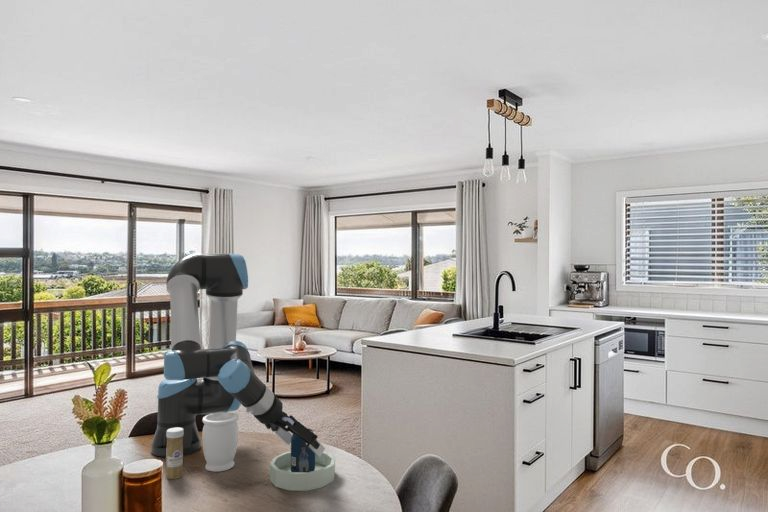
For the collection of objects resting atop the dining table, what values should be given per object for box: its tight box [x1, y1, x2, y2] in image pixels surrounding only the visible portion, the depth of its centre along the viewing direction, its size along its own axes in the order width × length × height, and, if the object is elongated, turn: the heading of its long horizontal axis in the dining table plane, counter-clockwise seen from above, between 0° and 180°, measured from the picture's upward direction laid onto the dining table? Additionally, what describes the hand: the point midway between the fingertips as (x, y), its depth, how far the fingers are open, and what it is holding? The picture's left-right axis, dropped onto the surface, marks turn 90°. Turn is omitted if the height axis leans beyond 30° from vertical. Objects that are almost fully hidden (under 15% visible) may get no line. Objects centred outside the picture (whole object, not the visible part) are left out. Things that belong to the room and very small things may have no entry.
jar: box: [201, 411, 239, 473], centre depth 156 cm, size 11×10×15 cm
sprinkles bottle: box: [165, 427, 184, 480], centre depth 148 cm, size 5×5×14 cm
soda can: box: [290, 428, 315, 472], centre depth 149 cm, size 7×7×12 cm
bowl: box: [269, 450, 336, 492], centre depth 149 cm, size 18×18×4 cm
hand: (305, 446), depth 149 cm, fingers open, 13 cm apart
